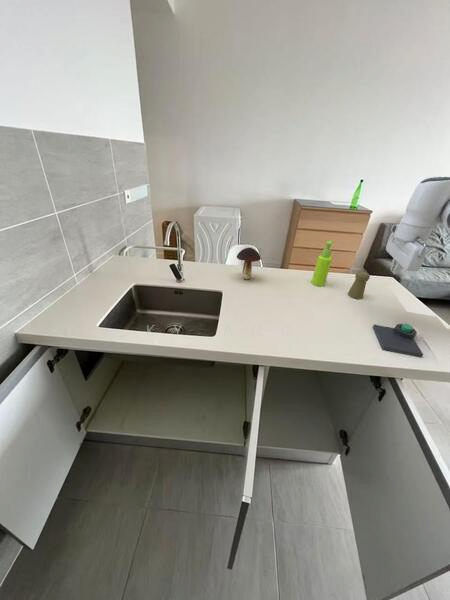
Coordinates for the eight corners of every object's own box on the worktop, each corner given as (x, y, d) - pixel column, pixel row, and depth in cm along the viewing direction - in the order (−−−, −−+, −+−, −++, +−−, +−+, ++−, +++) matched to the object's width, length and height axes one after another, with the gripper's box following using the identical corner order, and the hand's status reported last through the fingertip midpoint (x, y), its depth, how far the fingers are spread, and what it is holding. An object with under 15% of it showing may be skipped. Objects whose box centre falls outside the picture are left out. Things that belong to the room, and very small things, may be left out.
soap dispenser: (326, 282, 115) (338, 240, 105) (323, 287, 110) (335, 245, 100) (313, 278, 118) (324, 238, 107) (310, 284, 113) (321, 242, 102)
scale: (408, 332, 85) (412, 325, 83) (424, 358, 74) (429, 351, 72) (371, 326, 87) (374, 319, 85) (382, 350, 76) (385, 342, 74)
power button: (409, 328, 82) (411, 324, 81) (412, 333, 80) (414, 330, 79) (399, 326, 83) (401, 322, 82) (402, 331, 80) (404, 328, 79)
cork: (349, 297, 103) (357, 274, 98) (346, 291, 108) (354, 268, 103) (364, 300, 102) (373, 276, 97) (360, 293, 107) (369, 270, 102)
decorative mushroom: (230, 278, 113) (232, 247, 105) (243, 271, 121) (246, 242, 113) (250, 286, 108) (254, 254, 100) (262, 278, 115) (266, 247, 108)
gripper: (439, 244, 68) (416, 287, 75) (410, 226, 85) (393, 263, 92) (415, 241, 69) (394, 284, 76) (390, 224, 86) (376, 260, 94)
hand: (394, 272), depth 85 cm, fingers closed
